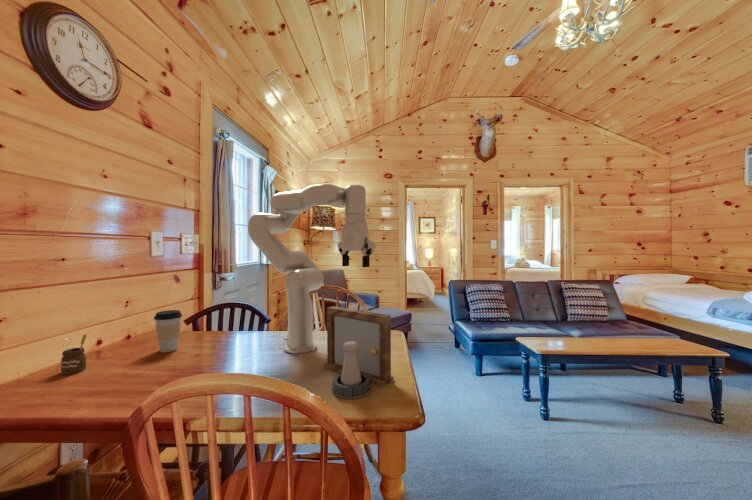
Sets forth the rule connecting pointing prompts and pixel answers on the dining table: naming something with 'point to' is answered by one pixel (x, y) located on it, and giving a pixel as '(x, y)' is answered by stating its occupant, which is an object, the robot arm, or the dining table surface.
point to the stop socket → (351, 388)
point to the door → (364, 336)
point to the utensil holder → (73, 359)
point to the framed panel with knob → (383, 341)
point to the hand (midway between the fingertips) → (355, 266)
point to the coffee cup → (168, 329)
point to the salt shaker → (350, 365)
